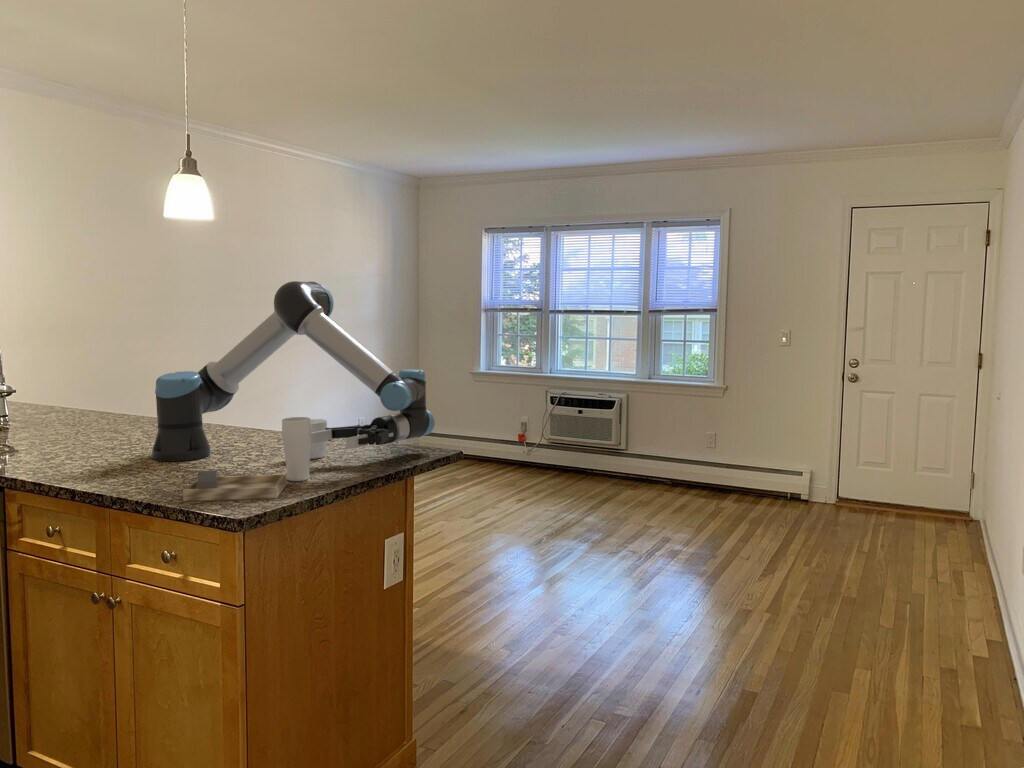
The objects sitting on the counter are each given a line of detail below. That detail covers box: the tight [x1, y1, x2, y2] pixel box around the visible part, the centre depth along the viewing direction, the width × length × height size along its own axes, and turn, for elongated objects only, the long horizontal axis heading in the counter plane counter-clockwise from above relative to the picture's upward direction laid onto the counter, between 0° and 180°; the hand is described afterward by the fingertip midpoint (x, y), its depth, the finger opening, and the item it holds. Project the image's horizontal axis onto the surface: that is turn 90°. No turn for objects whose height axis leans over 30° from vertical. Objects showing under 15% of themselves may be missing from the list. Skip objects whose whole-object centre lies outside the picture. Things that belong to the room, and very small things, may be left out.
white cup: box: [310, 418, 328, 460], centre depth 223 cm, size 8×8×10 cm
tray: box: [182, 474, 288, 502], centre depth 182 cm, size 20×13×2 cm, turn 97°
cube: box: [196, 469, 219, 489], centre depth 181 cm, size 4×4×4 cm
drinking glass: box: [281, 416, 311, 482], centre depth 194 cm, size 7×7×15 cm
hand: (328, 440), depth 202 cm, fingers open, 13 cm apart
